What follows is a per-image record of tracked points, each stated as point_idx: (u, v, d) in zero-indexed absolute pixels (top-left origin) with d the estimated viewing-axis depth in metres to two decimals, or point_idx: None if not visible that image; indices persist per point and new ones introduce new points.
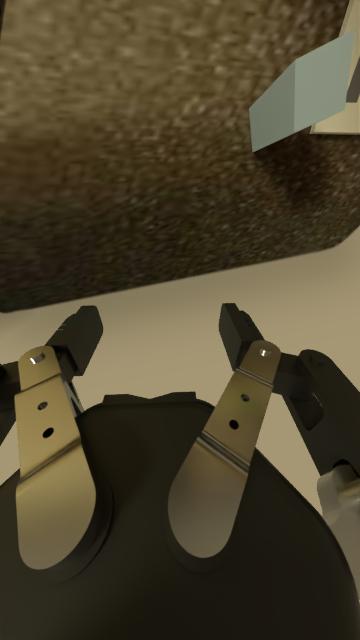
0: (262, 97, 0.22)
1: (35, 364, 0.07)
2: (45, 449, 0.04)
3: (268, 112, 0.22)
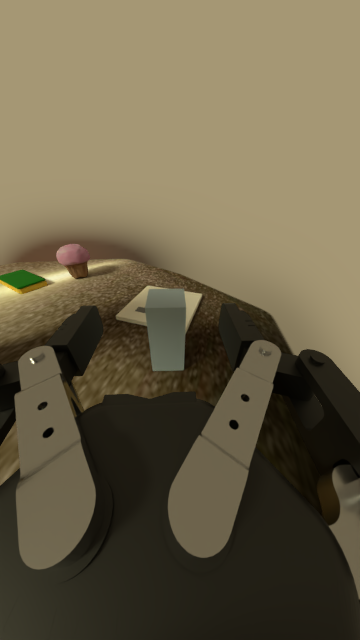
0: (151, 350, 0.26)
1: (35, 364, 0.07)
2: (45, 449, 0.04)
3: (163, 342, 0.25)
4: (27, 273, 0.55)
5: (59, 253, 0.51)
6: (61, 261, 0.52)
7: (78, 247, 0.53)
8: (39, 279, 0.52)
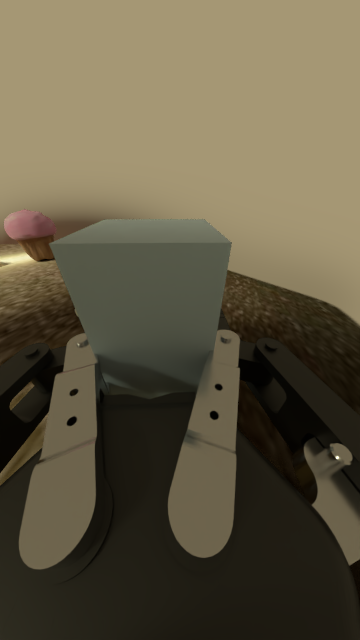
0: (115, 394, 0.09)
1: (83, 348, 0.08)
2: (65, 437, 0.04)
3: (145, 375, 0.08)
4: None
5: (6, 220, 0.35)
6: (10, 233, 0.35)
7: (36, 214, 0.37)
8: None
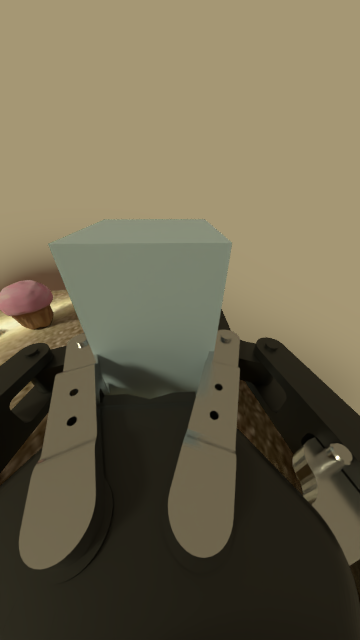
0: None
1: (83, 348, 0.08)
2: (65, 437, 0.04)
3: (145, 376, 0.08)
4: None
5: None
6: (3, 311, 0.33)
7: (31, 287, 0.35)
8: None
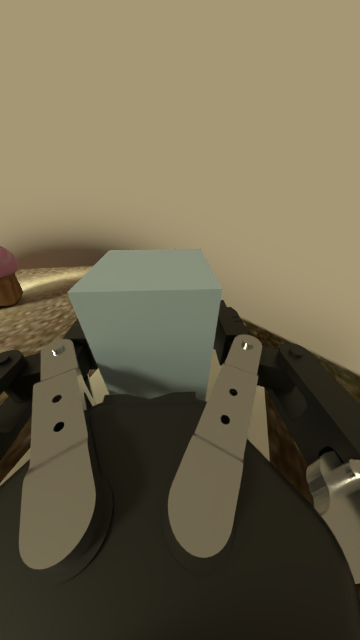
0: None
1: (57, 356, 0.07)
2: (54, 443, 0.04)
3: (148, 393, 0.09)
4: None
5: None
6: None
7: None
8: None
